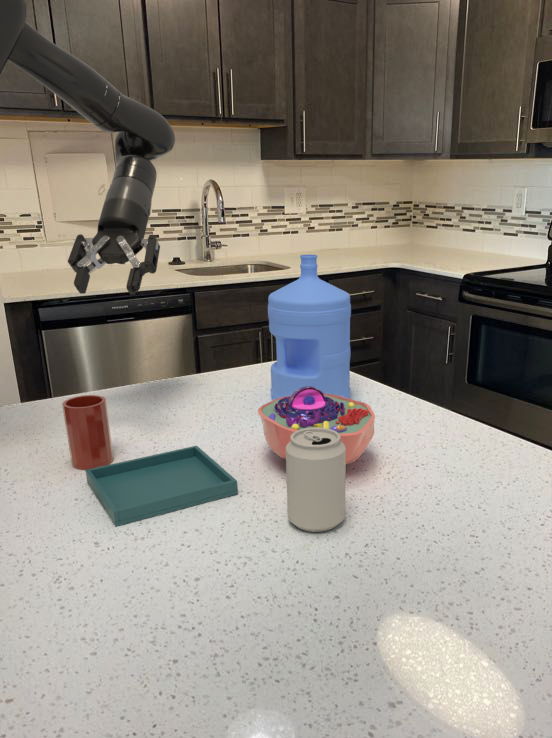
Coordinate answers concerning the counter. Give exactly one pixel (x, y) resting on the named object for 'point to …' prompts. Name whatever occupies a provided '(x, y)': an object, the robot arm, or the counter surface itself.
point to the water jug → (310, 335)
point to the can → (315, 479)
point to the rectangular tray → (159, 484)
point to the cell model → (317, 420)
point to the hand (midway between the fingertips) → (105, 291)
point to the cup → (88, 431)
